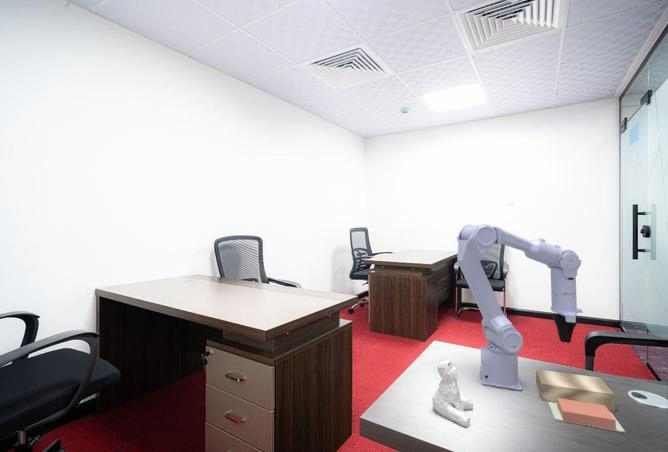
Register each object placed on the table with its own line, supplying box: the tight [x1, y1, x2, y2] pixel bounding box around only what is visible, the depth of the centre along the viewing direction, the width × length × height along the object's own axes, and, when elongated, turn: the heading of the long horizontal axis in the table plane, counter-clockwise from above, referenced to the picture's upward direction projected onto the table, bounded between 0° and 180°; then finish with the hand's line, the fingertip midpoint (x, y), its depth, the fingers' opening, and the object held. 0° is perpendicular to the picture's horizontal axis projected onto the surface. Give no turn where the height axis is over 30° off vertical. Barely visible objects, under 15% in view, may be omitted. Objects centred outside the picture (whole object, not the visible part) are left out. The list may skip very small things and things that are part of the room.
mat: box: [547, 401, 626, 434], centre depth 72 cm, size 12×8×1 cm, turn 66°
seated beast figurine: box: [431, 359, 474, 428], centre depth 74 cm, size 10×9×12 cm
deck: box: [535, 368, 616, 413], centre depth 80 cm, size 14×9×4 cm, turn 66°
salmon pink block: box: [557, 398, 617, 430], centre depth 71 cm, size 9×6×2 cm, turn 66°
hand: (565, 341), depth 89 cm, fingers closed
